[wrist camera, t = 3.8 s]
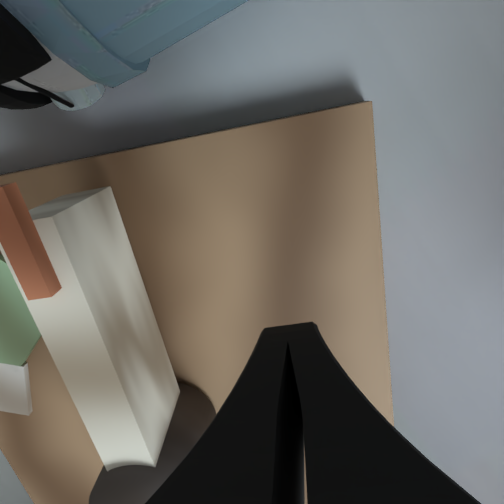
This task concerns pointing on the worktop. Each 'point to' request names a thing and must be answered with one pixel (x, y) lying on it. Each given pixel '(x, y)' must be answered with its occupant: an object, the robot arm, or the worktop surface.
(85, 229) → the peg
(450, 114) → the worktop surface
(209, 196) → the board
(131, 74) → the toy
